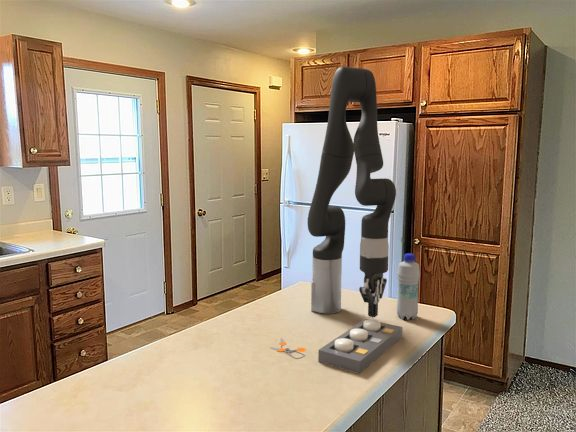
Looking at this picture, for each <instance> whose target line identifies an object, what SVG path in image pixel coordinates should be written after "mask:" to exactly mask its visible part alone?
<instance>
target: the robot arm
mask: <svg viewBox="0 0 576 432" xmlns="http://www.w3.org/2000/svg"><path fill="white" fill-rule="evenodd" d="M331 81H332V82H331V88H330V98H329V107H328V108H329V109H328V119H327V127H326V131H325V136H324V142H323V146H322V150H321V156H320V163H319V168H318V175H317V180H316V184H315V188H314V191H313V192H314V193H313V196H312V199H311V203H310V207H309V210H308V214H307V224H306V225H307V230H308V233H309V234H310V235H311V236H313V237H317V238H321V237H325V238H324V239H323V241H321V243H318V244H317V245H316V246H314V247H313V248H312V280H311V285H310V286H311V293H310V294H311V297H310V298H311V303H310V304H311V305H310V307H311V309H310V310H311V312H316V313H320V314H326V315H327V314H329V315H330V314H337V313H339V312H340V311H342V274H343V273H342V270H343V269H342V268H343V266H342V265H343V264H342V263H343V250H344V249H345V239H346V238H345V236H346V216H345V213H344V211H343V209H342V208H341V207H340V206H337V205H334V206H333V205H332V206H330V202H331V200H332V197H333V195H334V193H335V192H336V191H337V190H338V188H339V187H340V186H341V184H342V183H343V182H344V181H345V179H346V178H347V177H348V175H349V173H350V171H351V168H352V163H353V160H354V157H355V164H356V178H355V185H354V186H355V187H354V195H355V199H356V201H357V202H358V203H359V204H360V205H361V206H363V207H365V206H366V207H370V206H373V207H374V206H376V207H375V210H374V211H373V212H371V213H368V214H365V215H363V216H362V218H361V232H360V233H361V234H360V236H361V237H360V242H359V270H360V271H361V272H362V273H364V277H363V286H360V287H359V289H358V290H359V293H360V295H361V298H362V300H363V302H364V303H367V305H368V306H367V316H368V317H371V318H376V317H377V316H379V303H380V299H383V294H384V292H385V289H386V285H387V281H388V279H387V278H384V274H385V273H387V272H388V271H389V253H390V251H389V249H390V248H389V247H390V246H389V222H390V218H391V214H392V210H393V208H394V204H395V201H396V197H397V189H396V186H395V183H394V182H393V181H392V179H391V178H371V174H374V173H376V172H378V171H381V169H382V168H383V167H384V158H383V154H382V147H381V143H380V137H379V130H378V102H377V85H376V83H377V82H376V77H375V76H374V73H373V72H372V71H371V70H370V69H367V68H361V67H352V66H351V67H350V66H340V67H338V68H337V69H336V71H335V73H334V75H333V78H332V80H331ZM349 102H350V103H359V106H360V110H361V116H360V121H359V123H358V126H357V129H356V131H355V133H354V136H353V138H352V136H351V132H350V131H349V128H348V127H349V126H348V124H347V119H346V111H347V106H348V105H347V104H348V103H349Z"/></svg>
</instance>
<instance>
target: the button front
mask: <svg viewBox="0 0 576 432" xmlns="http://www.w3.org/2000/svg"><path fill="white" fill-rule="evenodd" d="M353 349H354V342H353V341H352V340H350V339H345V338H341V339H337V340H335V350H337V351H340V352H344V353H348V354H349V353H351V352H352V351H353Z"/></svg>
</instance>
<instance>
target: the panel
mask: <svg viewBox="0 0 576 432" xmlns="http://www.w3.org/2000/svg"><path fill="white" fill-rule="evenodd" d="M365 320H370V318H369V319H367V318H365V319H363V320H362V321H360V322H358V323H357V324H356V325H354V326H352V327H351V328H350V329H348V330H347V331H345V332H344V333H342V334H340V335H339V336H338V337H335V338H334V339H333V340H331V341H330V342H329V343H326V345H324V346H322V347H321V348H319V349H318V357H317V358H318V361H317V362H318V363H322V364H325V365H328V366H332V367H336V368H339V369H342V370H345V371H348V372H352V373H356V374H361V373H362V372H363V371H364V370H366V369H367V368H369V366H370V365H372V364H373V363H374V362H375V361H376V360H377V359H379V358H380V357H381V356H382V355H383V354H384V353H386V352H387V351H388V350H389V349H391V348H392V346H393V345H395V344H396V343H397V342H399V341H400V340H401V339H402V338H403V326H399V325H396V324H390V323H386V322H381V321H379V322H380V323H381V328H380V331H379V332H378V333H376V332H372V331H367V330H366V331H367V332H368V340H367V341H366V342H364V343H363V342H359V341H355V340H352V341H353V342H354V349H353V351H352V352H351V353H349V354H348V353H344V352H340V351H337V350H335V340H337V339H341V338H345V339H350V330H352V329H363V323H364V321H365ZM350 340H351V339H350Z"/></svg>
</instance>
